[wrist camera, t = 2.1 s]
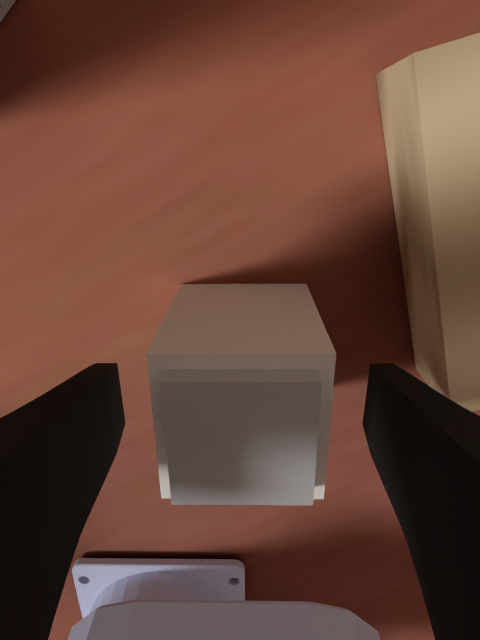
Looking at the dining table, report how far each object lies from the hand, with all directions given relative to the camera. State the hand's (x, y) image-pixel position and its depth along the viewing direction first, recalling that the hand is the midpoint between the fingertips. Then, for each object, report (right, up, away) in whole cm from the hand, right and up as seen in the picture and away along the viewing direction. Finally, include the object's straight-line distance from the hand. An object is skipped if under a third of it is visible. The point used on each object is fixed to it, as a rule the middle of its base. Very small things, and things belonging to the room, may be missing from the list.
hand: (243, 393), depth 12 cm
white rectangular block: (0, +1, +4) cm, 4 cm away
